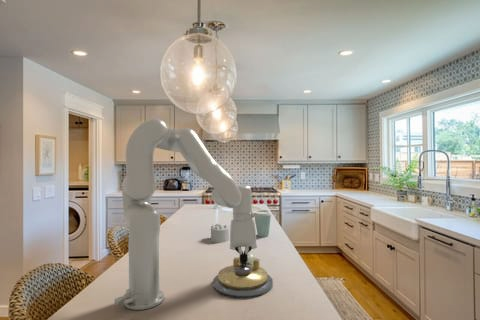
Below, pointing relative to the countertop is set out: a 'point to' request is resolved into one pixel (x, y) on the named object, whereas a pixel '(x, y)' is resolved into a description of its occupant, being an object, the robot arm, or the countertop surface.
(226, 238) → the lumpy-topped squat cylinder
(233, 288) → the lugged brass disc
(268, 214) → the disposable coffee cup
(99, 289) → the countertop surface
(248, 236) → the robot arm
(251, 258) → the pipe fitting
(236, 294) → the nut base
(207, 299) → the countertop surface
